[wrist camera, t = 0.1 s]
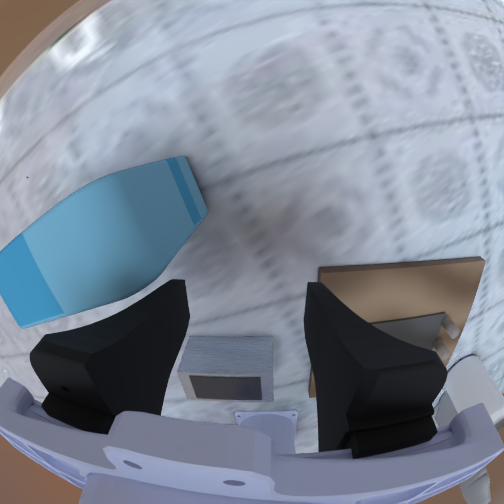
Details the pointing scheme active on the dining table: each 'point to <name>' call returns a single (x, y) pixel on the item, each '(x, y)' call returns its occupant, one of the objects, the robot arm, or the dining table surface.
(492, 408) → the can
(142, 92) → the dining table surface
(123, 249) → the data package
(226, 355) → the block
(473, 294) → the pin tray
